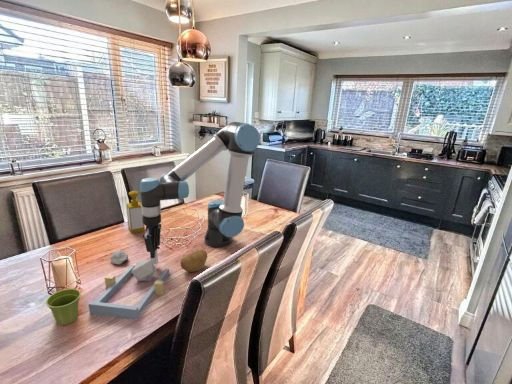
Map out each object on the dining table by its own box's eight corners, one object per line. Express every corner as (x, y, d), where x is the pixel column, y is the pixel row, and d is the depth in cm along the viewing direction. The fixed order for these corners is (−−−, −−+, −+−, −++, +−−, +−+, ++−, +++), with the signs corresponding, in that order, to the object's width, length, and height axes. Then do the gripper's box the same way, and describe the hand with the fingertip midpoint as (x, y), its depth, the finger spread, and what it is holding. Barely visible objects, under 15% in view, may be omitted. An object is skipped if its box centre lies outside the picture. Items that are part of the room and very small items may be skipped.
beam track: (175, 274, 121) (175, 264, 119) (145, 320, 95) (144, 308, 93) (125, 269, 123) (124, 259, 121) (81, 312, 97) (79, 300, 95)
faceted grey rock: (142, 289, 111) (156, 268, 112) (123, 276, 111) (138, 255, 112) (149, 283, 120) (163, 264, 121) (132, 272, 120) (146, 252, 121)
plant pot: (71, 306, 99) (68, 285, 97) (90, 314, 96) (87, 293, 94) (43, 323, 91) (39, 301, 89) (63, 333, 88) (58, 310, 85)
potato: (213, 265, 129) (213, 250, 127) (191, 280, 118) (191, 263, 116) (197, 258, 134) (197, 244, 132) (175, 272, 123) (174, 256, 120)
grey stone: (133, 257, 132) (132, 248, 131) (123, 267, 125) (122, 257, 123) (116, 255, 133) (115, 246, 132) (105, 265, 126) (104, 255, 124)
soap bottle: (154, 229, 163) (152, 190, 156) (131, 233, 156) (127, 193, 149) (151, 224, 169) (148, 187, 162) (128, 229, 162) (125, 190, 155)
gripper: (150, 208, 125) (153, 254, 132) (135, 219, 113) (139, 269, 120) (166, 209, 124) (168, 256, 131) (152, 220, 112) (155, 271, 119)
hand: (154, 262), depth 125 cm, fingers closed
